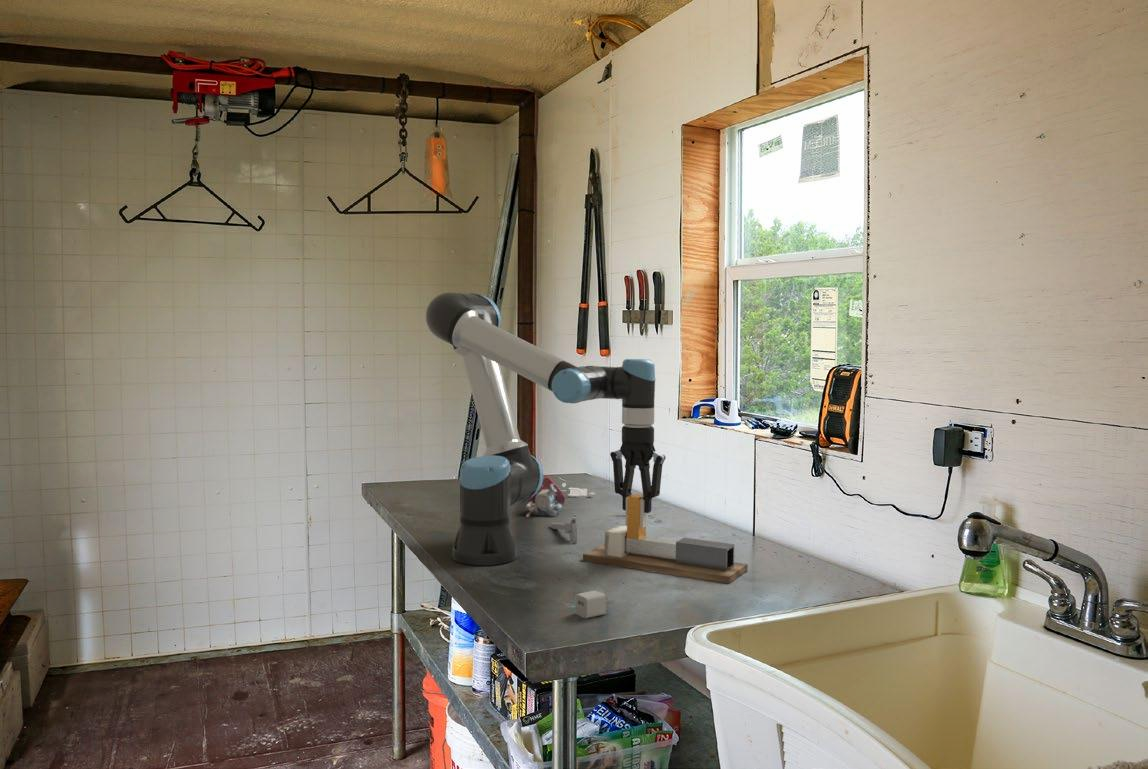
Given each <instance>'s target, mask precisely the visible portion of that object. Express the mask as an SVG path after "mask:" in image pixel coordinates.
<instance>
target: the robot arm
mask: <svg viewBox="0 0 1148 769" xmlns="http://www.w3.org/2000/svg"><path fill="white" fill-rule="evenodd" d="M425 322H426V325H427V327H428V329H429V331H430V332H431V333H432V334H433V336H435V337H436V338H438V339H440V340H441V341H444V342H445V343H448V344H450V345H452V347H453V352H454V353H455V354H458V355H459V356H460V357H462V361H463V365H464V368H465V372H466V376H467V379H468V383H469V387H470V390H471V394H472V398H473V402H474V406H475V410H476V413H477V417H478V421H479V424H480V428H481V432H482V436H483V439H484V443H485V447H486V449H485V452H484V453H483V455H481V456H475V457H472V458H469V459H467V460H465V461H464V462H463V463H462V464H461V466H460V470H459V472H460V473H459V479H458V480H459V481H458V482H459V528H458V531H457V534H456V537H455V539H454V543H453V545H452V549H451V550H452V551H451V552H452V554H451V556H452V559H453V560H454V561H455V562H456V563H460V564H464V565H469V566H472V565H473V566H494V565H495V566H496V565H502V564H505V563H506V564H507V563H509V562H512V561H515V559H517V556H518V554H517V551H518V549H517V545H516V543H515V539H514V535H513V532H512V529H511V526H510V507H511V506H514V505H516V504H521V503H524V502H527V501H528V499H530V498H531V497H533V496H534V495H535V494H536V495H537V494H538V493H539V492H538V491H539V489H540V488H541V487H542V486H543V484H542V482H543V478H544V470H543V467H542V464H541V462H540V461H539V459H537V458H536V457H534V455H532V454H531V452H530V448H529V444H528V443H527V442H525V441H523V440H522V439H521V438H520V434H519V431H518V430H519V429H518V427H517V423H516V421H515V420H516V419H515V416H514V413H513V412H514V411H513V409H512V406H511V401H510V398H509V394H508V390H507V386H506V383H505V379H504V375H503V372H502V368H501V366H502V367H503V368H506V369H507V370H510V371H512V372H513V373H516V374H517V375H520V376H522V377H523V378H525V379H527V380H529V381H531V382H532V383H535V384H536V385H538V386H541V387H543V388H545V389H546V390H549V391H551V392H552V393H553V396H554V397H555V398H556V399H557V400H559V401H560V402H562V403H565V404H578V403H582V402H587V401H591V400H599V399H605V400H606V399H611V400H621V403H622V404H621V406H622V407H621V408H622V409H621V423H622V424H623V426H622V427H621V445H620V448H619V449H617V450H614V451H611V452H610V453H609V454H610V458H611V461H612V465H613V466H612V470H613V482H614V484H613V486H614V493H615V494H618V495H620V496H621V497H622V503H621V504H622V505H621V506H622V510H623V511H625V518H624V519H625V521H624V522H625V525H624V526H627V496H630V495H633V493H632V488H633V482H634V475H635V469H636V467H637V466H638V470H639V472H640V473H639V474H640V480H641V489H642V495H643V498H642V499H640V527H642V528H643V527H645V526H646V527H647V526H648V525H649V513H651V512H652V500H653V498H657V497H659V496H660V495H661V494H660V492H661V482H662V472H663V465H664V462H665V460H666V455H665V454H660V453H658V452H657V451H656V448H655V444H654V443H655V428H654V426H653V425H655V396H656V395H655V393H656V392H655V391H656V380H657V379H656V372H655V371H656V369H655V366H656V365H655V362H654V361H653V360H651V359H649V358H648V359H647V358H624V359H623V361H622V365H621V366H616V367H614V366H598V365H595V366H594V365H584V366H583V365H582V366H576V365H575V364H572V363H570V362H568V361H567V360H565V359H562V358H561V357H558V356H557V355H554V354H553V353H550V352H548V351H547V350H544V349H542V348H540V347H539V346H537V345H535V344H532V343H530V342H528V341H526V340H524V339H522V338H520V337H518V336H516V335H514V334H512V333H511V332H508V331H506V330H504V329H502V328H500V326H501V323H502V319H501V313H500V309H499V308H498V306H497V304H496V303H495V302H494V301H493V300H492V299H491V298H489V297H487V296H485V295H482V294H479V293H474V292H470V293H464V292H462V293H461V292H454V291H453V292H452V291H451V292H449V291H448V292H443V293H440V294H438V295H436V296H435V297H434V298H433V299H431V301H430V302H429V304H428V305H427V308H426V311H425ZM623 458H624V460H625V463H624V464H625V465H624V469H625V471H624V469H623ZM652 459H653V461H652V462H653V465H652V466H653V467H652V475H651V473H650V468H651V465H650V461H651V460H652ZM651 477H652V478H651ZM537 492H538V493H537Z"/></svg>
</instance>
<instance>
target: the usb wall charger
mask: <svg viewBox="0 0 1148 769" xmlns="http://www.w3.org/2000/svg"><path fill="white" fill-rule="evenodd" d="M574 598H575V599H574V608H575V609H574V611H575V614H576V615H577V616H580V617H582V618H583V619H590V618H594V617H599V616H604V615H605V614H606V613H607V608H606V607H607V606H608V605H612V604H615V603H614V602H615V601H614V599H609V600H608V596H607V597H606V595H605V593H603V592H600V591H599V590H590V591H585V592H580V593H576V594H575V597H574Z"/></svg>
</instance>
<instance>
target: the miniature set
mask: <svg viewBox="0 0 1148 769" xmlns="http://www.w3.org/2000/svg"><path fill="white" fill-rule="evenodd" d="M566 486H567V483H565V482H563V483H562V484H561V487H562V488H565V487H566ZM562 488H559V489H560V490H561V492H566V490H562ZM568 490H569V493H567V496H568V497H579V496H583V497H584V496H585V497H586V496H588V495H592V496H595V495H596V493H595V492H594V491H593V492H590V491H589V492H588V488H580V487H568Z"/></svg>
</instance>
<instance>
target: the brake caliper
mask: <svg viewBox="0 0 1148 769" xmlns="http://www.w3.org/2000/svg"><path fill="white" fill-rule="evenodd" d="M560 489H561V488H559V487H558V485H557V484H556V483H555V482H554V480H552V479H551V477H550V476H543V482H542V486H541V488H540V489H539V491H538V492H537V493H536V494H535V495H534V496H533V497H531V498H530V499H528V500H527V501H528V503H527V504H526V505H525V509H527V510H528V511H529V512H527V513H526V514H525V516H526V517H527V518H528V517H530V516H541V517H545V516H547V517H558V516H559V514H560V512H561V511H562V510H563V508H564V506H565V501H566V496H565V494H564V492H563V491H561V490H562V489H561V490H560Z"/></svg>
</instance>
